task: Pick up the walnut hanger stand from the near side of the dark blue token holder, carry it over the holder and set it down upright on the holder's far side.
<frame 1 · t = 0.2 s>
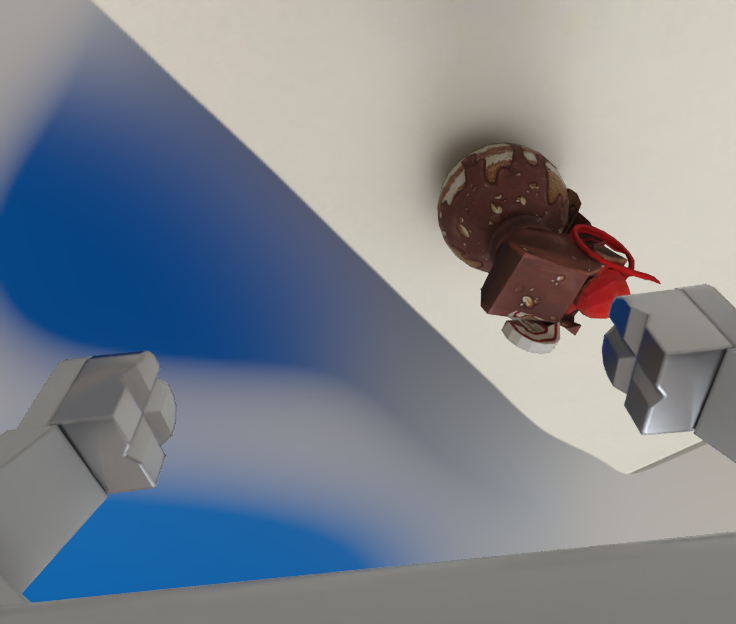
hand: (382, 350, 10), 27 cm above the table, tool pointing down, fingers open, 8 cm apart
grenade: (495, 185, 37), on the table
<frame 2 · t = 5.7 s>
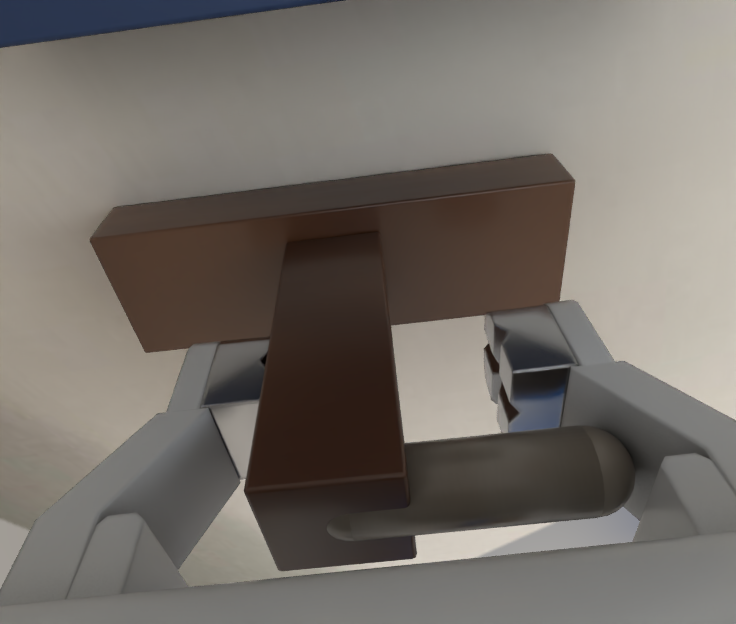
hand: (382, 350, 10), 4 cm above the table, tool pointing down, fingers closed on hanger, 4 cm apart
hanger: (339, 241, 13), on the table, touching gripper
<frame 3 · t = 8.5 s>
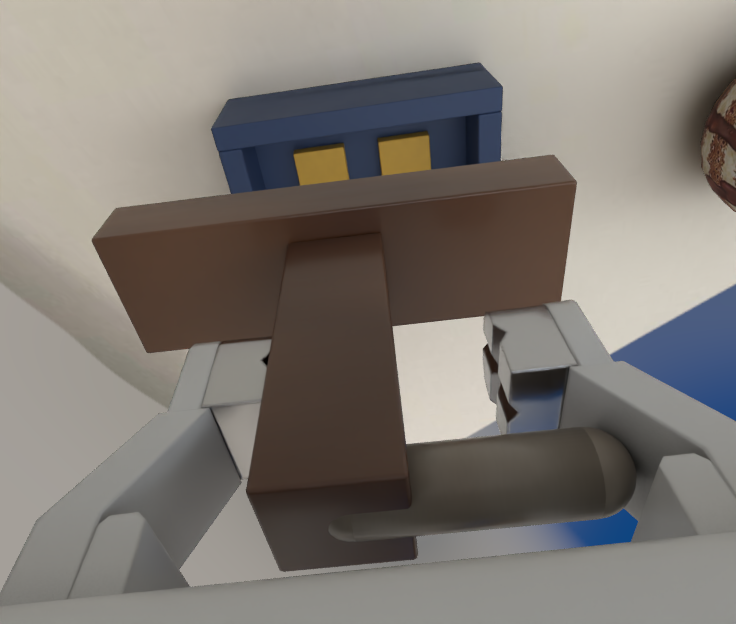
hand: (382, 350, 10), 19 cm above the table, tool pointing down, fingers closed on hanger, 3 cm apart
hanger: (341, 242, 13), point 15 cm above the table, touching gripper
token holder: (362, 153, 27), on the table
when the fingers open (4 cm above the table, at t = 11.7 s): hanger stays where it is, on the table.
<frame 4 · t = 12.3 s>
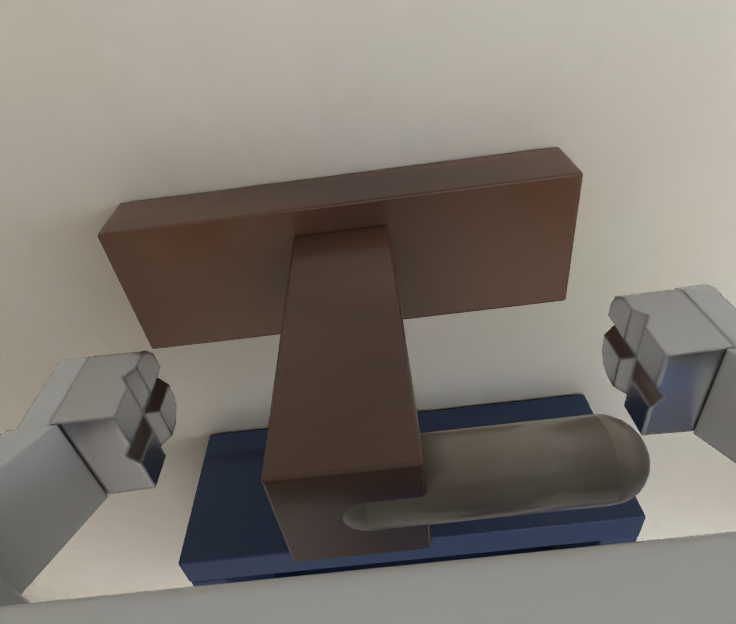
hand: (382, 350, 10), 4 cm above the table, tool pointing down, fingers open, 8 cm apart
hanger: (346, 236, 13), on the table
token holder: (402, 479, 19), on the table
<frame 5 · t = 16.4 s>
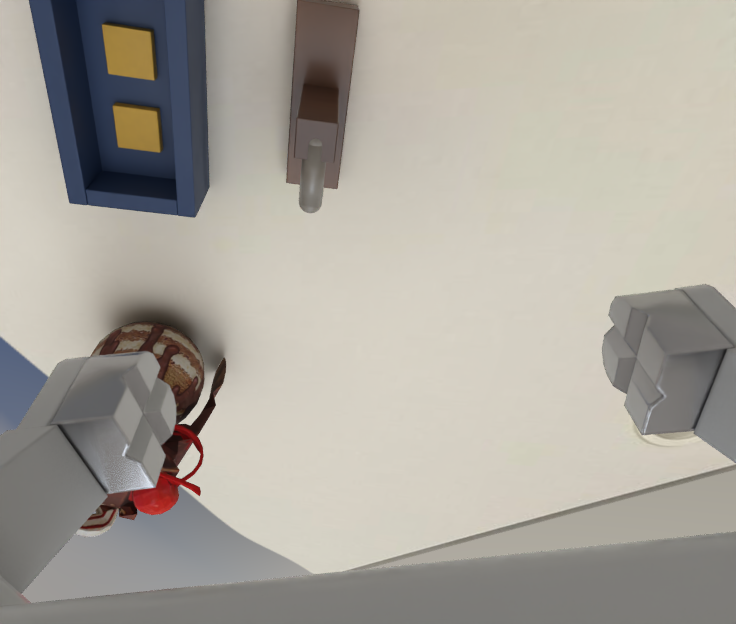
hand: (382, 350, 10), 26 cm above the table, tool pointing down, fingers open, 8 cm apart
hanger: (320, 97, 31), on the table
token holder: (144, 83, 30), on the table
grenade: (169, 343, 42), on the table
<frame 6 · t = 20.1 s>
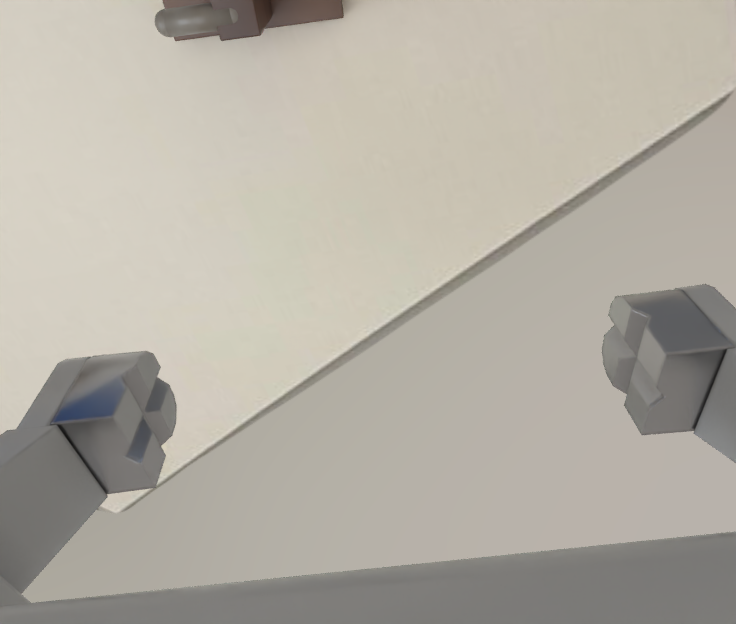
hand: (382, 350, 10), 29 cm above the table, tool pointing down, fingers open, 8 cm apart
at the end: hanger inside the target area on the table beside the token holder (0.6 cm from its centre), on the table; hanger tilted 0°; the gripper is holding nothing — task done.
